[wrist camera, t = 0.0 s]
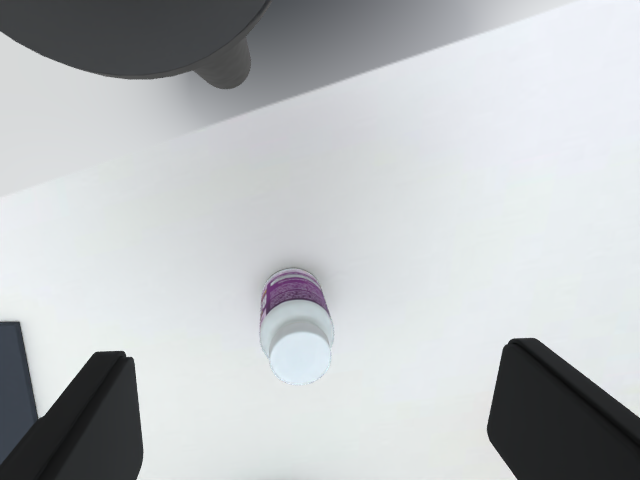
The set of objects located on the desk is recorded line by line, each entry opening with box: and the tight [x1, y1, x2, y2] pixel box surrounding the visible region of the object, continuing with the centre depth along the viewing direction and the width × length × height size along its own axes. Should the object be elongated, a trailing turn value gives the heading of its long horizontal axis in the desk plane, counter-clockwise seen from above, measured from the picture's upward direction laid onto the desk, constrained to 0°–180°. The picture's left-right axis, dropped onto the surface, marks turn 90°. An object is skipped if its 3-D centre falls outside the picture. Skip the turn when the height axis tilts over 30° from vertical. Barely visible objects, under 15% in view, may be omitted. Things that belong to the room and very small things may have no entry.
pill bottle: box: [259, 268, 334, 385], centre depth 28 cm, size 5×5×10 cm
